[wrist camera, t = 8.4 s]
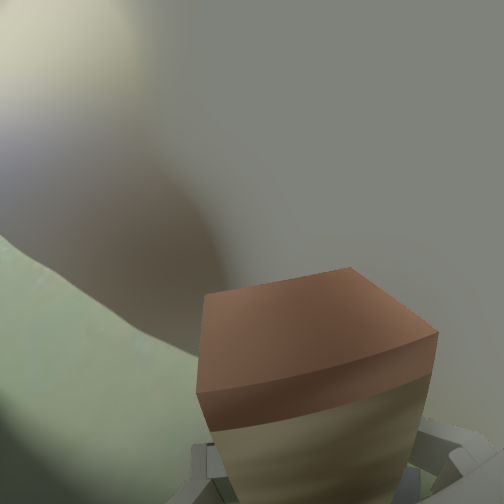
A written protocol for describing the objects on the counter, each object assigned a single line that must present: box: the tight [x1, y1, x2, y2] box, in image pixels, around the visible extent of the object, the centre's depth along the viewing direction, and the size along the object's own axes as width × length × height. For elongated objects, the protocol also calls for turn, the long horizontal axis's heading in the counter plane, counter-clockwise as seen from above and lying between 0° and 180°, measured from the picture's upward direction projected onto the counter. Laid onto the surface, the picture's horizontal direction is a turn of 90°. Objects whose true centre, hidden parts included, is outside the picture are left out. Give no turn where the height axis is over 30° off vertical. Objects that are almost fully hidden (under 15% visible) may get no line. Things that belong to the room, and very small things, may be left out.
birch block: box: [196, 267, 439, 504], centre depth 8 cm, size 4×4×12 cm
